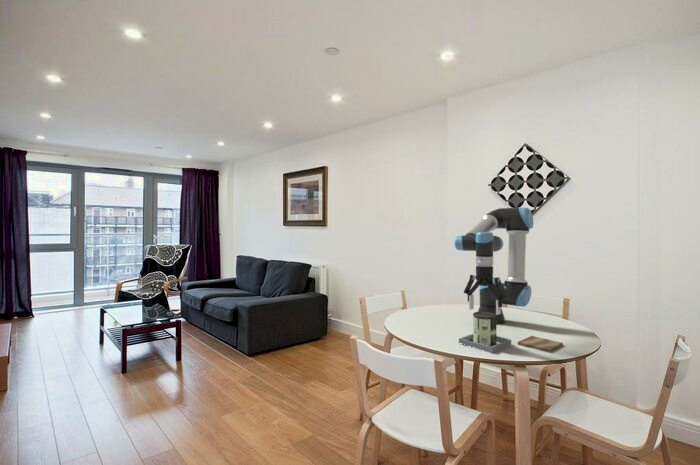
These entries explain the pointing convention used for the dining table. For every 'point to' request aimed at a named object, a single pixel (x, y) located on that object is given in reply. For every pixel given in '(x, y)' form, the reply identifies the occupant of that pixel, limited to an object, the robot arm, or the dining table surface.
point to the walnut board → (540, 343)
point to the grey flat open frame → (503, 343)
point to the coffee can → (485, 328)
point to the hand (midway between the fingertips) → (484, 311)
